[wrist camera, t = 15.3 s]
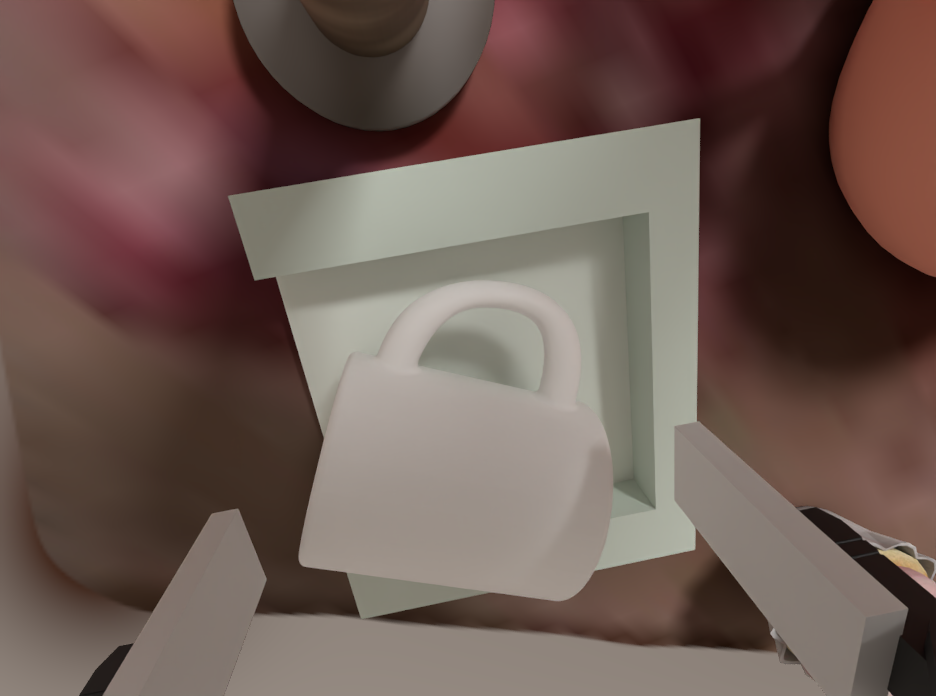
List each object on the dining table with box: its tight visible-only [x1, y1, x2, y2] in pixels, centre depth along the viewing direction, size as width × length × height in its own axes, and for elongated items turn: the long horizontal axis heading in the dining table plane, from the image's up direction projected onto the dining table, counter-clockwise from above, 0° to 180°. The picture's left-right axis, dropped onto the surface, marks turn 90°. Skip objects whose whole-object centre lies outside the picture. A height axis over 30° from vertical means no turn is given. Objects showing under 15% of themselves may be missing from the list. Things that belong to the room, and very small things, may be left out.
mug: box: [299, 280, 613, 601], centre depth 19 cm, size 12×10×8 cm
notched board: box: [228, 118, 700, 619], centre depth 22 cm, size 17×20×3 cm
